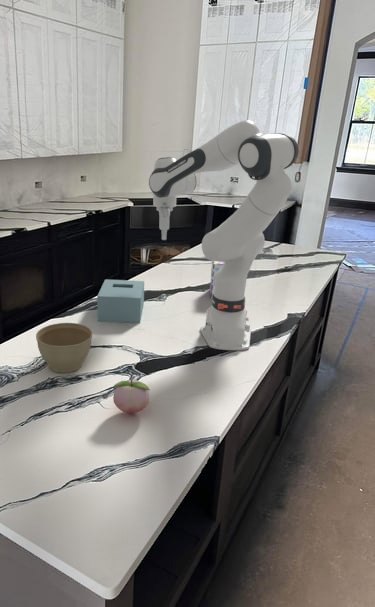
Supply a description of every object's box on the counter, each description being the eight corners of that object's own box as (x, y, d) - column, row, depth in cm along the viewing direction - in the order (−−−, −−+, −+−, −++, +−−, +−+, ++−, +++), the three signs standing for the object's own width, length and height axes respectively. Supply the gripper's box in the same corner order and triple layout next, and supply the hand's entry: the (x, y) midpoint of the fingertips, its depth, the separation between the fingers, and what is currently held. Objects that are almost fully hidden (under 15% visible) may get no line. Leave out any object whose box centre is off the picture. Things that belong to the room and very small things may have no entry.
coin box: (140, 322, 172) (140, 298, 168) (97, 321, 171) (97, 296, 168) (143, 303, 190) (144, 281, 187) (105, 302, 190) (105, 279, 186)
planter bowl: (37, 381, 129) (34, 347, 125) (39, 355, 143) (36, 324, 139) (94, 376, 133) (94, 343, 129) (90, 351, 148) (90, 321, 144)
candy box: (223, 300, 200) (226, 264, 194) (210, 299, 200) (213, 263, 194) (222, 289, 213) (225, 255, 207) (209, 289, 213) (212, 255, 207)
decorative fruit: (150, 403, 122) (151, 371, 118) (148, 422, 114) (149, 387, 111) (114, 402, 121) (114, 369, 118) (111, 421, 114) (110, 386, 110)
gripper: (173, 205, 164) (172, 243, 169) (172, 198, 184) (171, 232, 188) (155, 204, 164) (155, 242, 169) (157, 198, 183) (156, 232, 188)
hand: (164, 237), depth 179 cm, fingers open, 8 cm apart
